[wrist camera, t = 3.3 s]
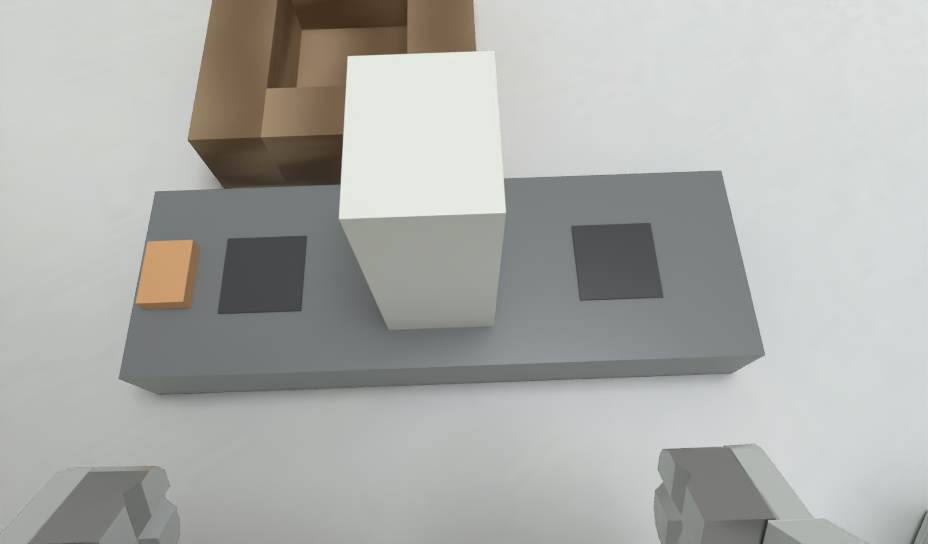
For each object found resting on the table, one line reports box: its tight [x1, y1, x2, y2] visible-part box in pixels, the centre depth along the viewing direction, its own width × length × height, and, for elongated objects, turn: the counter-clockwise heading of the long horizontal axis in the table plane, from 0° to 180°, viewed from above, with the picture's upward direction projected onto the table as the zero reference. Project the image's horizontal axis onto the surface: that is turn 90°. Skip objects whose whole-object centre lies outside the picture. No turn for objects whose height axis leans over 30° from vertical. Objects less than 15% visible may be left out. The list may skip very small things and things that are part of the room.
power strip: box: [119, 171, 765, 394], centre depth 24 cm, size 24×8×4 cm, turn 92°
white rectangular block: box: [339, 51, 506, 330], centre depth 20 cm, size 4×5×11 cm
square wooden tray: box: [188, 0, 476, 189], centre depth 28 cm, size 12×12×4 cm
